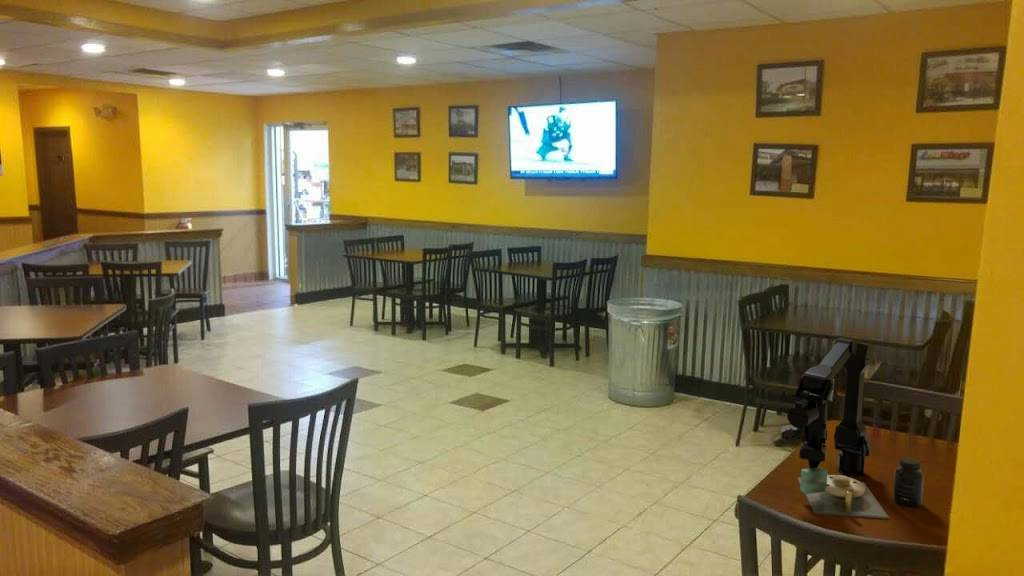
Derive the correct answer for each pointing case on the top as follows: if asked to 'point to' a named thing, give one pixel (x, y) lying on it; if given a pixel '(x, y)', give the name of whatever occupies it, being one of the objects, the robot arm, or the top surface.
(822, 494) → the base
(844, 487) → the flange
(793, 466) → the top surface
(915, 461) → the supplement bottle
